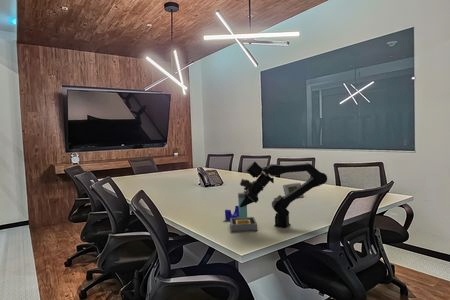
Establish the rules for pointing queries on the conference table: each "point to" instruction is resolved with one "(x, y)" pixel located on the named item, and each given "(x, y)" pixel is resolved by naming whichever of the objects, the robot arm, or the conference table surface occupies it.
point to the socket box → (243, 224)
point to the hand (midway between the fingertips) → (239, 205)
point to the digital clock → (291, 188)
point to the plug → (242, 209)
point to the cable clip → (229, 215)
